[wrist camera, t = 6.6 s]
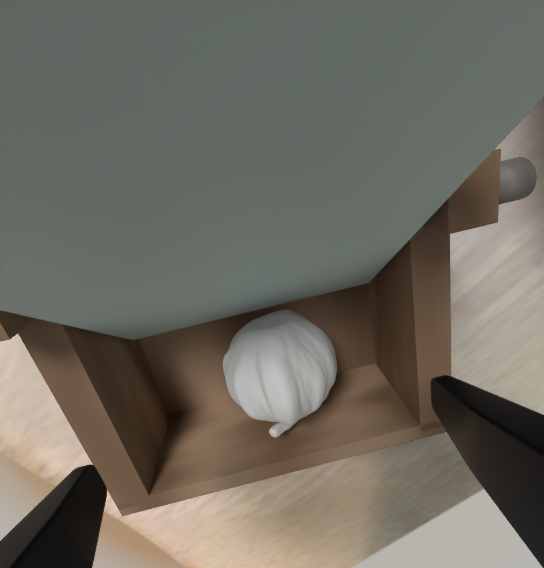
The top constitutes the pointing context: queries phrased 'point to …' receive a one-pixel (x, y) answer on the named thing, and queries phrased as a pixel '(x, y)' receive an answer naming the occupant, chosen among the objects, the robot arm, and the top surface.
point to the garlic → (280, 368)
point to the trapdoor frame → (212, 384)
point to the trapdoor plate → (238, 146)
